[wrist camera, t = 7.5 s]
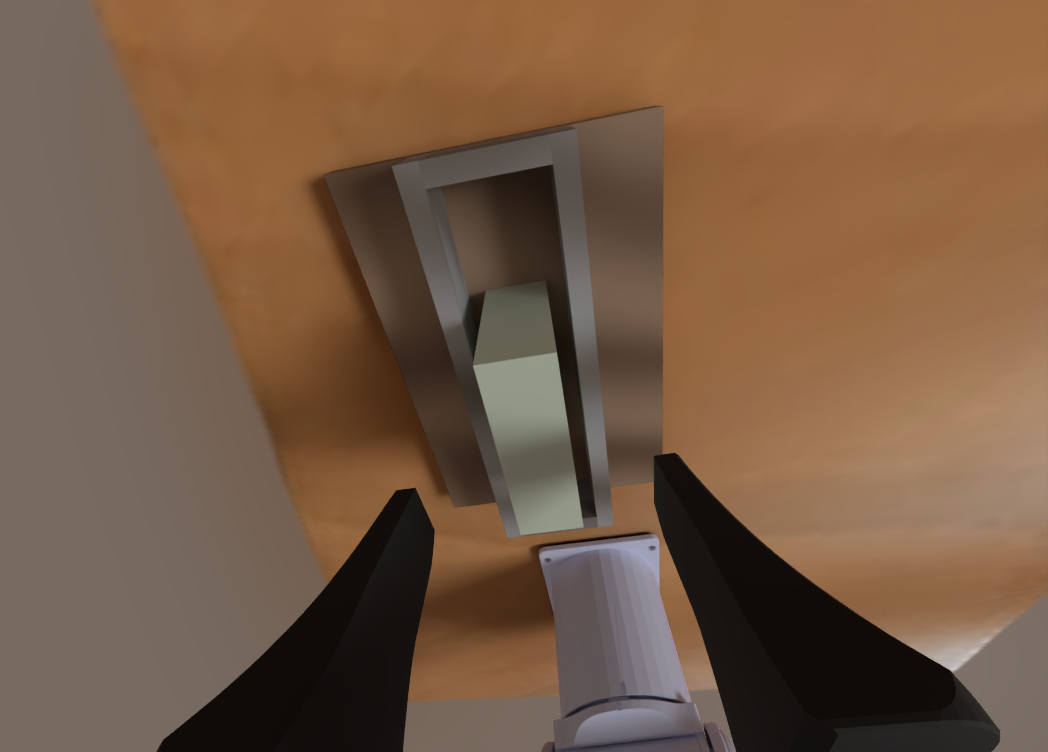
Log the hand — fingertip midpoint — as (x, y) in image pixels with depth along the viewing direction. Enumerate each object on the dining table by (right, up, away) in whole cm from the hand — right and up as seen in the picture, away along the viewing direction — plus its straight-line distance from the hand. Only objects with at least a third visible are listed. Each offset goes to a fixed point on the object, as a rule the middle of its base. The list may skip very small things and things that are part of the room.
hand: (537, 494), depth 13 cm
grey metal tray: (0, +5, +7) cm, 9 cm away
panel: (0, +4, +7) cm, 8 cm away
